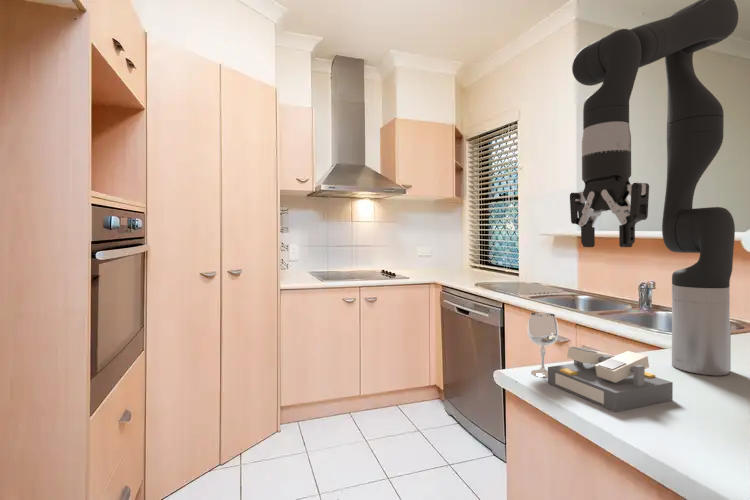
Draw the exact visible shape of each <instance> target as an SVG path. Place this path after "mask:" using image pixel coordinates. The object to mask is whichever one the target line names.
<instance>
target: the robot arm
mask: <svg viewBox="0 0 750 500" xmlns="http://www.w3.org/2000/svg"><path fill="white" fill-rule="evenodd" d="M738 23H739V10H738V5H737V2H736V1H735V0H697V1H695V2H694V3H693V2H692V3H691V4H689V5H687V6H686V7H683V8H681V9H679V10H677V11H676V12H673V13H672V14H670V15H669V16H668V17H665V18H661V19H658V20H654V21H651V22H648V23H644V24H641V25H639V26H636V27H633V28H620V29H617V30H615V31H612V32H610V33H609V34H607V35H605V36H603V37H601V38H599V39H597V40H595V41H593V42H592V43H590V44H588V45H585V46H584V47H583V48H582V49H580V50H579V51H578V52H577V53H576V55H575V57H574V58H573V61H572V66H571V69H572V70H571V71H572V75H573V77H574V78H575V80H576V81H577V82H578V83H580V84H581V85H584V86H587V87H588V86H589V87H590V86H597V85H599V84H601V83H602V84H601V85H600V87H599V88H598V89H597V90H596V91H595V92H593V93H592V94H590V95H589V96H587V98H586V99H585V100H584V102H583V110H582V118H583V119H582V122H583V123H582V130H583V131H582V132H583V133H582V140H581V179H582V182H584V189H583V191H580V192H571V193H569V205H570V206H569V208H570V209H569V210H570V222H571V224H573V225H577V226H579V227H580V241H581V245H582V246H583V248H594V247H595V245H596V243H595V241H596V240H595V239H596V238H595V235H596V234H595V232H596V231H595V230H596V229H595V228H596V227H595V226H594V224H595V223H596V220H597V219H598V218H599V217H600V216H601V215H602V213H603V212H608V211H611V212H612V214H614V215H615V216H616V218H617V220H618V221H619V223H620V225H619V227H618V228H619V229H618V230H619V232H618V233H619V235H618V236H619V238H618V240H619V241H618V243H619V247H620V248H632V247H633V245H634V244H635V241H636V224H637V223H639V222H641V221H645V220H647V219H648V216H649V197H650V195H649V194H650V184H649V183H646V182H633V183H632V184H631V182H630V177H632V134H631V130H630V128H631V127H630V99H631V95H632V92H633V89H634V85H635V82H636V78H637V74H638V72H639V68H642V67H644V66H647V65H650V64H652V63H654V62H658V61H660V60H661V59H663V58H664V63H665V71H666V72H665V73H666V74H665V75H666V85H667V86H666V87H667V88H666V90H667V93H666V94H667V95H666V96H667V104H666V107H667V109H666V110H667V113H666V114H667V115H666V116H667V117H666V154H667V155H666V158H667V162H666V184H665V196H664V204H663V212H662V222H661V224H662V225H661V234H662V240H663V242H664V246H665V247H666V248H667V250H669V251H671V252H673V253H682V254H683V253H690V254H692V253H693V254H699V258H698V259H697V262H695V263H694V264H692V265H690V266H688V267H685V268H681V269H678V270H674V271H673V272H672V274H671V365H672V366H673V368H676V369H678V370H681V371H684V372H689V373H693V374H698V375H707V376H727V375H729V374H730V371H731V369H732V368H731V367H732V366H731V365H732V364H731V363H732V362H731V357H732V356H731V355H732V353H731V352H732V350H731V347H732V345H731V343H732V342H731V341H732V340H731V339H732V338H731V337H732V336H731V335H732V333H731V331H732V327H731V323H730V318H731V317H730V316H731V315H730V313H731V312H730V310H731V309H730V307H731V305H730V303H731V302H730V292H731V291H730V282H731V276H732V273H733V266H734V265H733V263H734V260H733V259H734V249H735V235H736V233H735V232H736V229H735V226H736V225H735V221H734V217H733V215H732V213H731V212H730V211H729V209H727V208H725V207H721V206H712V207H711V206H710V207H701V208H700V207H699V208H693V201H694V196H695V195H694V194H695V190H696V188H697V185H698V183H699V181H700V179H701V178H702V175H704V173H705V171H707V169H708V167H709V166H710V165H711V163H712V162H713V160H714V159H715V157H716V156H717V154H718V152H719V151H720V149H721V147H722V145H723V141H724V124H725V123H724V116H725V115H724V114H725V113H724V108H723V105H722V104H721V102H720V100H718V98H717V97H716V96H715V95H714V94H713V93H712V92H711V91H710V90H709V89H708V88H707V87H706V86H705V85H704V84H703V83H702V82H701V81H700V80H699V78H698V76H697V75H696V73H695V72H696V71H695V69H694V64H693V56H694V53H695V52H698V51H701V50H703V49H706V48H708V47H711V46H714V45H716V44H718V43H720V42H722V41H723V40H725V39H727V38H728V37H730V36H731V35H732V34H733V33H734V32H735V30H736V28H737V27H738ZM628 196H630V202H629V200H628Z"/></svg>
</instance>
